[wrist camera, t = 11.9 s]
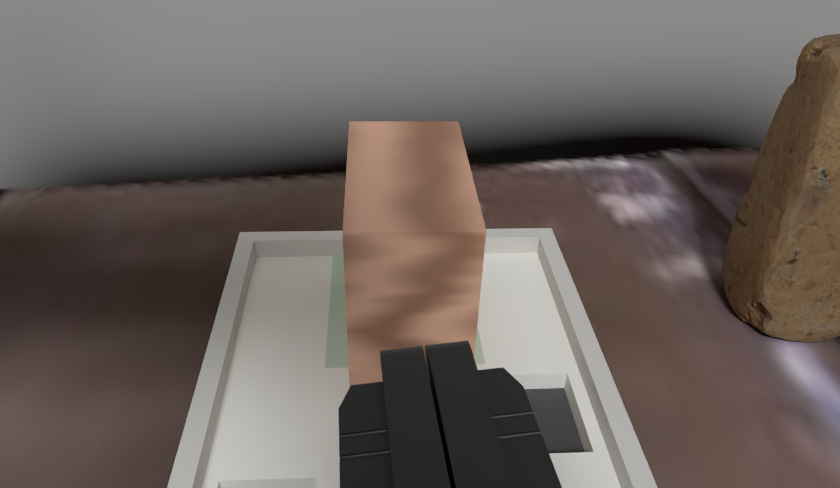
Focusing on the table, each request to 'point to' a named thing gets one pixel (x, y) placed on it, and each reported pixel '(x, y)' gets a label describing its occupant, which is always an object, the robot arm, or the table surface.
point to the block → (793, 211)
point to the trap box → (329, 369)
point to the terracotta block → (409, 241)
